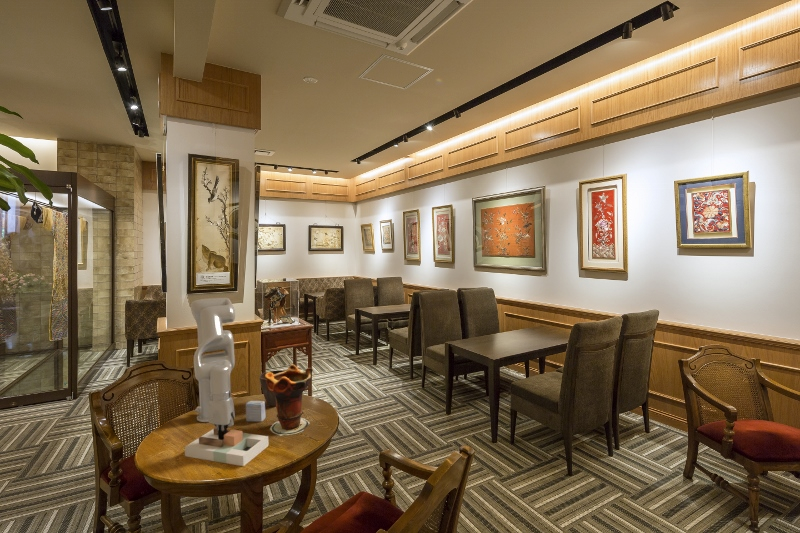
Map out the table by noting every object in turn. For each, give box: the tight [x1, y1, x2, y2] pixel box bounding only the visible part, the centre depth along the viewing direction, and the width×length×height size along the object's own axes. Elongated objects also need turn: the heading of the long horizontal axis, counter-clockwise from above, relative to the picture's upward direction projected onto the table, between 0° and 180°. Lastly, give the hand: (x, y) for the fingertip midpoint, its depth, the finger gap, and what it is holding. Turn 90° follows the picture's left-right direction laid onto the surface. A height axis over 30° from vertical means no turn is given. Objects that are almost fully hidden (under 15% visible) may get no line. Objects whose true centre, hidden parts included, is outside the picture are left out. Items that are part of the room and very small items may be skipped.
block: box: [224, 429, 243, 446], centre depth 162 cm, size 5×5×4 cm
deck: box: [184, 428, 270, 467], centre depth 163 cm, size 28×16×4 cm, turn 74°
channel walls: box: [198, 427, 232, 447], centre depth 164 cm, size 11×9×2 cm
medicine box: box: [245, 400, 267, 422], centre depth 191 cm, size 8×4×9 cm, turn 84°
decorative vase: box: [265, 364, 313, 437], centre depth 184 cm, size 21×23×28 cm
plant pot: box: [259, 369, 285, 408], centre depth 210 cm, size 15×15×16 cm
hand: (222, 438), depth 163 cm, fingers closed
